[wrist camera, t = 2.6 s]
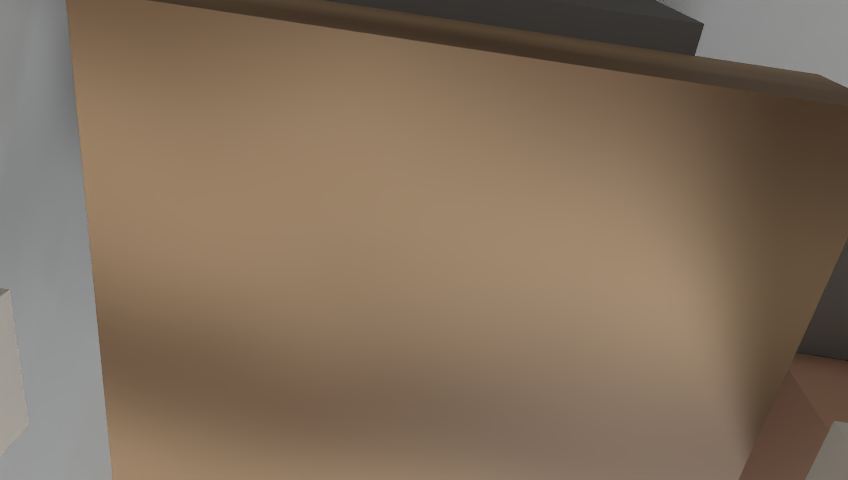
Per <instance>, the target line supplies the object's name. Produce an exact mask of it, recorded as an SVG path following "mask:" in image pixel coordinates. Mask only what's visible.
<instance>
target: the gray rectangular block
mask: <svg viewBox="0 0 848 480" xmlns="http://www.w3.org/2000/svg"><path fill="white" fill-rule="evenodd" d="M325 1H332V2H339V3H345V4H352V5H359V6H365V7H372V8H379V9H385V10H392V11H399V12H405V13H412V14H419V15H425V16H432V17H439V18H445V19H452V20H459V21H465V22H472V23H479V24H485V25H492V26H499V27H505V28H512V29H519V30H525V31H532V32H539V33H545V34H552V35H559V36H565V37H572V38H579V39H585V40H592V41H599V42H605V43H612V44H619V45H625V46H632V47H639V48H645V49H652V50H659V51H665V52H672V53H679V54H685V55H692V56H695V53H696V49H697V46H698V43H699V39H700V36H701V33H702V29H703V26H704V24H703V23H701V22H699V21H697V20H695V19H693V18H691V17H688V16H686V15H684V14H682V13H680V12H678V11H676V10H674V9H672V8H670V7H668V6H666V5H664V4H661V3H659V2H657V1H655V0H325Z"/></svg>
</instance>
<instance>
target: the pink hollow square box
mask: <svg viewBox="0 0 848 480" xmlns="http://www.w3.org/2000/svg"><path fill="white" fill-rule="evenodd" d="M834 421H839V422H845V423H848V361H845V360H838V359H832V358H826V357H820V356H814V355H807V354H801V353H796V354H795V356H794V358H793V360H792V363H791V365H790V367H789V369H788V372H787V374H786V376H785V378H784V380H783V383H782V385H781V387H780V389H779V391H778V394H777V396H776V398H775V400H774V402H773V405H772V407H771V409H770V411H769V413H768V416H767V418H766V420H765V422H764V424H763V427H762V429H761V431H760V433H759V436H758V438H757V440H756V442H755V444H754V447H753V449H752V451H751V453H750V455H749V458H748V460H747V462H746V464H745V466H744V469H743V471H742V473H741V475H740V477H739V480H805V479H806V477H807V475H808V473H809V471H810V469H811V467H812V465H813V463H814V461H815V459H816V457H817V455H818V453H819V451H820V449H821V446H822V444H823V442H824V440H825V438H826V436H827V434H828V432H829V430H830V428H831V426H832V424H833V422H834Z"/></svg>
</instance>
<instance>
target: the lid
mask: <svg viewBox="0 0 848 480" xmlns="http://www.w3.org/2000/svg"><path fill="white" fill-rule="evenodd" d="M66 4H67V14H68V25H69V35H70V45H71V55H72V66H73V76H74V86H75V97H76V107H77V117H78V127H79V138H80V148H81V158H82V169H83V179H84V189H85V200H86V210H87V220H88V230H89V241H90V251H91V261H92V272H93V282H94V292H95V303H96V313H97V323H98V333H99V344H100V354H101V364H102V375H103V385H104V395H105V406H106V416H107V426H108V436H109V447H110V457H111V467H112V478H113V480H739V477H740V475H741V473H742V471H743V469H744V466H745V464H746V462H747V460H748V458H749V455H750V453H751V451H752V449H753V447H754V444H755V442H756V440H757V438H758V436H759V433H760V431H761V429H762V427H763V424H764V422H765V420H766V418H767V416H768V413H769V411H770V409H771V407H772V405H773V402H774V400H775V398H776V396H777V394H778V391H779V389H780V387H781V385H782V383H783V380H784V378H785V376H786V374H787V372H788V369H789V367H790V365H791V363H792V360H793V358H794V356H795V354H796V352H797V349H798V347H799V345H800V343H801V341H802V338H803V336H804V334H805V332H806V330H807V327H808V325H809V323H810V321H811V319H812V316H813V314H814V312H815V310H816V308H817V305H818V303H819V301H820V299H821V297H822V294H823V292H824V290H825V288H826V285H827V283H828V281H829V279H830V277H831V274H832V272H833V270H834V268H835V266H836V263H837V261H838V259H839V257H840V255H841V252H842V250H843V248H844V246H845V244H846V241H847V239H848V88H846V87H844V86H842V85H840V84H838V83H836V82H833V81H831V80H829V79H827V78H825V77H823V76H821V75H818V74H812V73H805V72H799V71H792V70H785V69H779V68H772V67H765V66H759V65H752V64H745V63H739V62H732V61H725V60H719V59H712V58H705V57H699V56H692V55H685V54H679V53H672V52H665V51H659V50H652V49H645V48H639V47H632V46H625V45H619V44H612V43H605V42H599V41H592V40H585V39H579V38H572V37H565V36H559V35H552V34H545V33H539V32H532V31H525V30H519V29H512V28H505V27H499V26H492V25H485V24H479V23H472V22H465V21H459V20H452V19H445V18H439V17H432V16H425V15H419V14H412V13H405V12H399V11H392V10H385V9H379V8H372V7H365V6H359V5H352V4H345V3H339V2H332V1H325V0H66Z"/></svg>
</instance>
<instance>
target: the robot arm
mask: <svg viewBox="0 0 848 480" xmlns="http://www.w3.org/2000/svg"><path fill="white" fill-rule="evenodd" d="M28 426H29V420H28V413H27V406H26V399H25V393H24V386H23V379H22V372H21V365H20V358H19V351H18V344H17V337H16V331H15V324H14V317H13V310H12V303H11V296H10V290H9V289H2V288H0V456H1V455H2V454H3V453H4V452H5V451H6V450H7V449H8V448H9V447H10V446H11V445H12V443H13V442H14V441H15V440H16V439H17V438H18V437H19V436H20V435H21V434H22V433H23V432H24V431H25V429H26V428H27V427H28ZM805 480H848V423H845V422H839V421H834V422H833V424H832V426H831V428H830V430H829V432H828V434H827V436H826V438H825V440H824V442H823V444H822V446H821V449H820V451H819V453H818V455H817V457H816V459H815V461H814V463H813V465H812V467H811V469H810V471H809V473H808V475H807V477H806V479H805Z"/></svg>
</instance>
